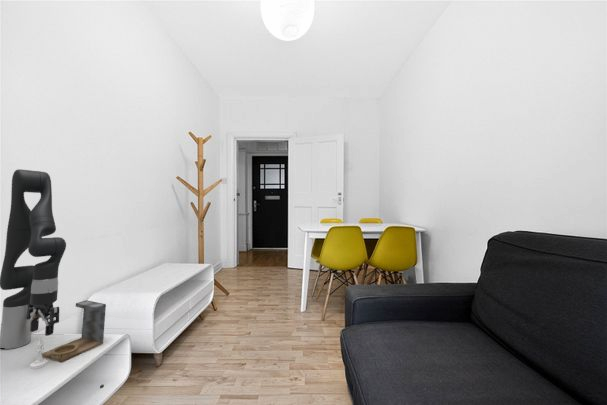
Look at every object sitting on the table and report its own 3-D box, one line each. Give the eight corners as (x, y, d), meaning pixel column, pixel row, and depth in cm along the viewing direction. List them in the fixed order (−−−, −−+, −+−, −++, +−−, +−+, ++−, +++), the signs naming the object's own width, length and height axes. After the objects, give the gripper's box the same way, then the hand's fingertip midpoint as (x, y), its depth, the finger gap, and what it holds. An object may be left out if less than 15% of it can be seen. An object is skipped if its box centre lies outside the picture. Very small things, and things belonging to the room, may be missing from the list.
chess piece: (36, 369, 101) (38, 342, 101) (26, 367, 102) (28, 340, 102) (51, 362, 105) (53, 336, 106) (41, 360, 106) (43, 334, 107)
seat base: (40, 356, 109) (44, 312, 109) (83, 338, 124) (86, 300, 125) (61, 362, 105) (64, 317, 106) (103, 343, 121) (105, 304, 121)
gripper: (20, 290, 103) (16, 333, 102) (45, 295, 99) (42, 340, 98) (43, 285, 110) (40, 326, 109) (68, 289, 106) (65, 332, 105)
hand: (41, 332), depth 104 cm, fingers open, 8 cm apart
